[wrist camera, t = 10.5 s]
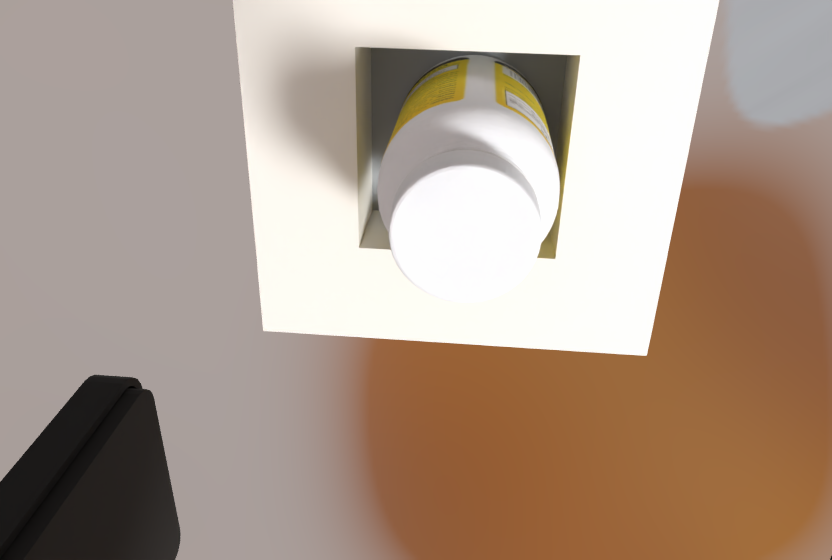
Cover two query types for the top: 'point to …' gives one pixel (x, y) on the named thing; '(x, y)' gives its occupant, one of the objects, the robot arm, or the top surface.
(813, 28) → the top surface
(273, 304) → the sleeve holder
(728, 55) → the top surface
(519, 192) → the supplement bottle
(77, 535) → the robot arm
